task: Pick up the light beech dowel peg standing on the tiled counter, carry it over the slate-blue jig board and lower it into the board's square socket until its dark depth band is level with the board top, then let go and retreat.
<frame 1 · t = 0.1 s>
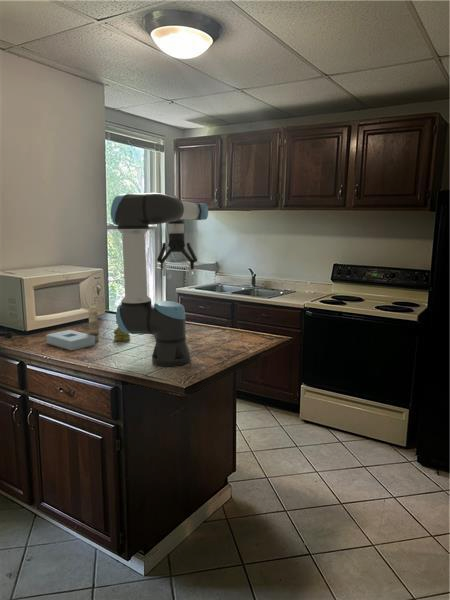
hand: (177, 276, 220), 28 cm above the countertop, fingers open, 13 cm apart
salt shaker: (122, 340, 208), on the countertop
beech peg: (94, 340, 207), on the countertop
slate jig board: (70, 343, 202), on the countertop
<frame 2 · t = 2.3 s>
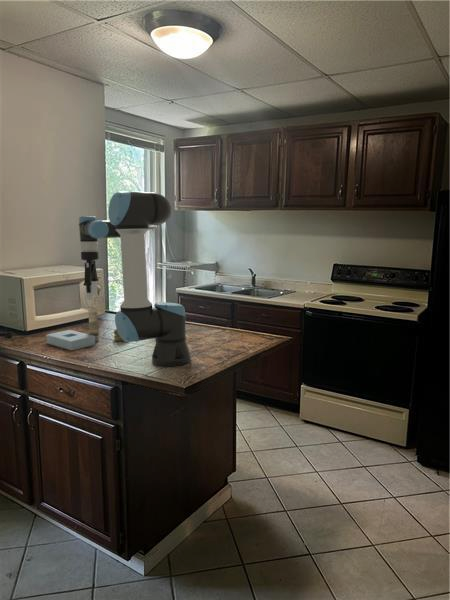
hand: (92, 297, 204), 20 cm above the countertop, fingers open, 13 cm apart
nothing on the countertop moved.
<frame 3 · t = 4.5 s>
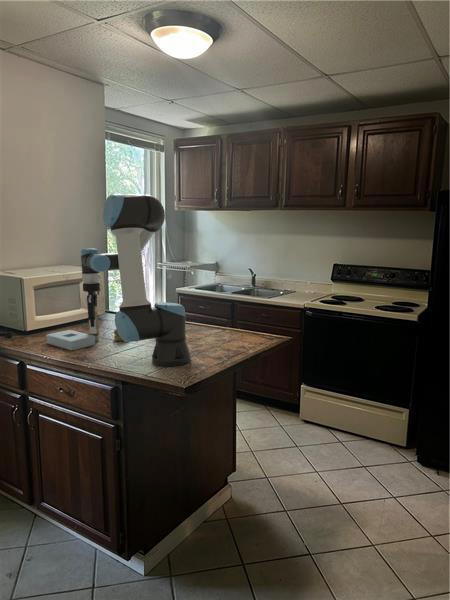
hand: (94, 332, 206), 4 cm above the countertop, fingers closed on beech peg, 4 cm apart
beech peg: (94, 340, 207), on the countertop, touching gripper
everything else where it was.
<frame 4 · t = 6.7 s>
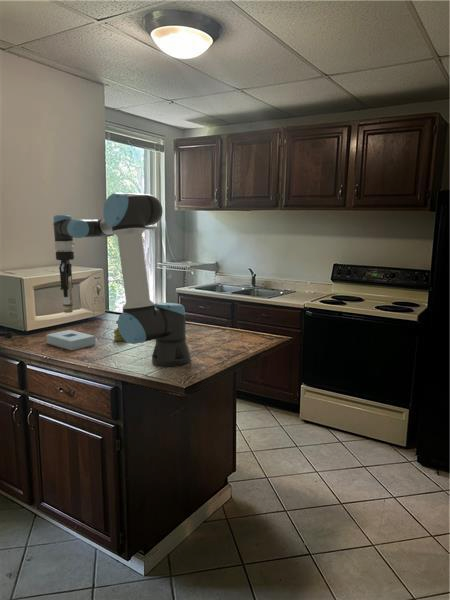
hand: (67, 302, 199), 19 cm above the countertop, fingers closed on beech peg, 4 cm apart
beech peg: (68, 312, 200), point 15 cm above the countertop, touching gripper
everything else where it was.
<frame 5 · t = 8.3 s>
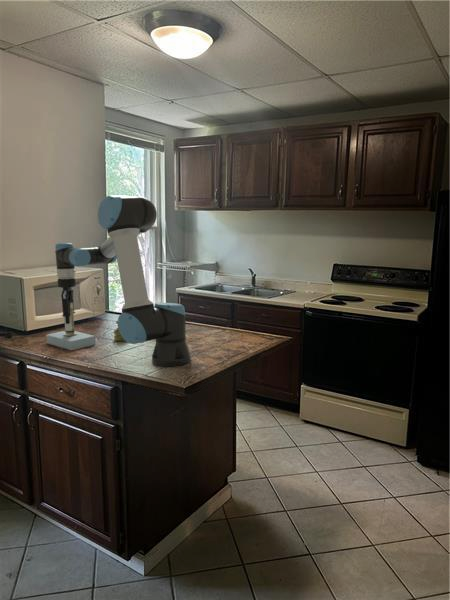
hand: (69, 329, 201), 7 cm above the countertop, fingers closed on beech peg, 4 cm apart
beech peg: (70, 337, 202), point 3 cm above the countertop, touching gripper
everything else where it was.
when the fingers open (5 cm above the countertop, at t = 8.8 s): beech peg stays where it is, resting on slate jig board.
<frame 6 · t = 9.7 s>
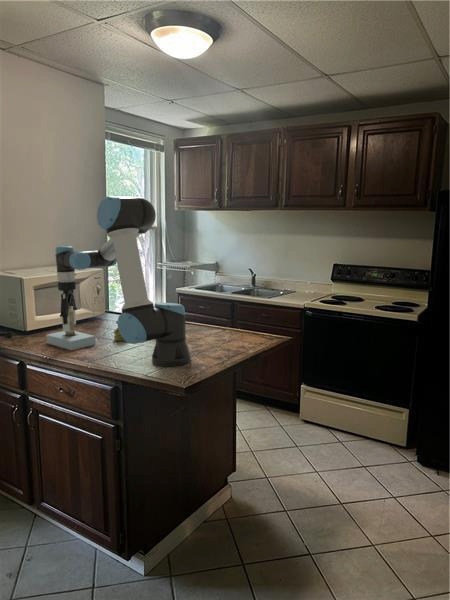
hand: (69, 327, 201), 8 cm above the countertop, fingers open, 13 cm apart
beech peg: (70, 341, 202), point 1 cm above the countertop, touching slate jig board
everything else where it was.
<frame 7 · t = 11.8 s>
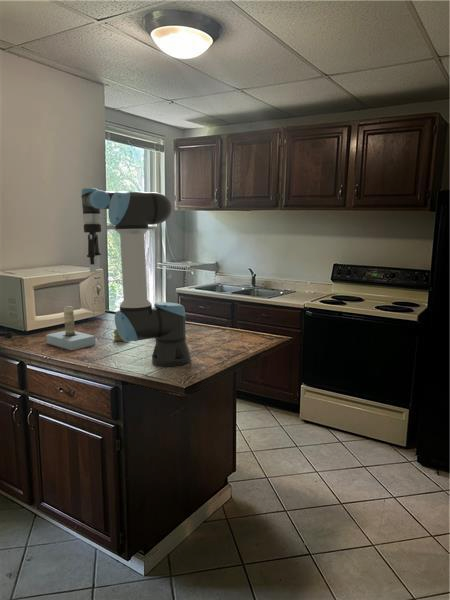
hand: (95, 270, 203), 33 cm above the countertop, fingers open, 13 cm apart
nothing on the countertop moved.
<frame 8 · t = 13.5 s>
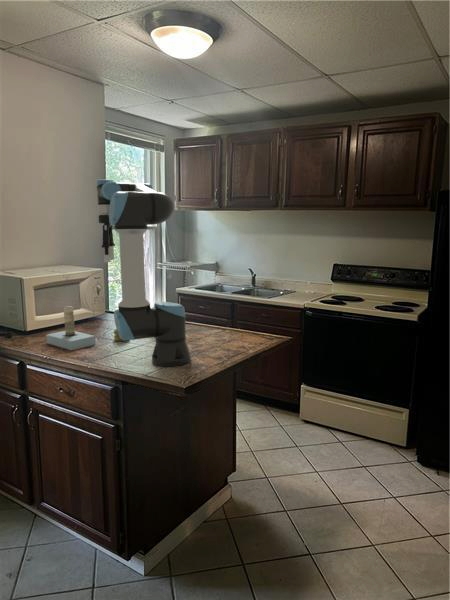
hand: (109, 261, 206), 37 cm above the countertop, fingers open, 13 cm apart
nothing on the countertop moved.
at the end: beech peg 0.0 cm off-centre on the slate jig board, point 1.1 cm above the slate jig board's base; beech peg tilted 0°; the gripper is holding nothing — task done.
